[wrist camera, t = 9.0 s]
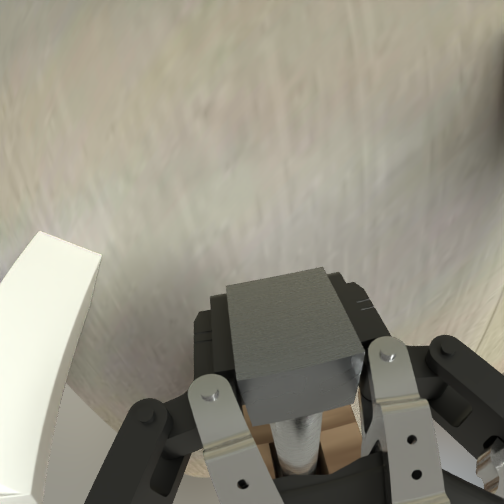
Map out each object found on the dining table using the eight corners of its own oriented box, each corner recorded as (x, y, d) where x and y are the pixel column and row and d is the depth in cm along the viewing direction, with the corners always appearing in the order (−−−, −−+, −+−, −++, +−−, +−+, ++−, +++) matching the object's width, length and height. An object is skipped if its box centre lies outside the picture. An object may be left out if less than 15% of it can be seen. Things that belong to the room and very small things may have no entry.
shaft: (225, 285, 11) (236, 381, 8) (322, 266, 11) (365, 351, 8) (280, 485, 27) (287, 516, 24) (312, 478, 27) (320, 509, 24)
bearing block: (217, 325, 29) (237, 523, 14) (312, 306, 29) (380, 490, 14) (239, 391, 35) (260, 534, 20) (312, 376, 36) (354, 514, 21)
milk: (103, 253, 23) (29, 555, 5) (90, 305, 26) (42, 553, 7) (38, 228, 21) (-89, 492, 3) (33, 283, 24) (-49, 512, 5)
